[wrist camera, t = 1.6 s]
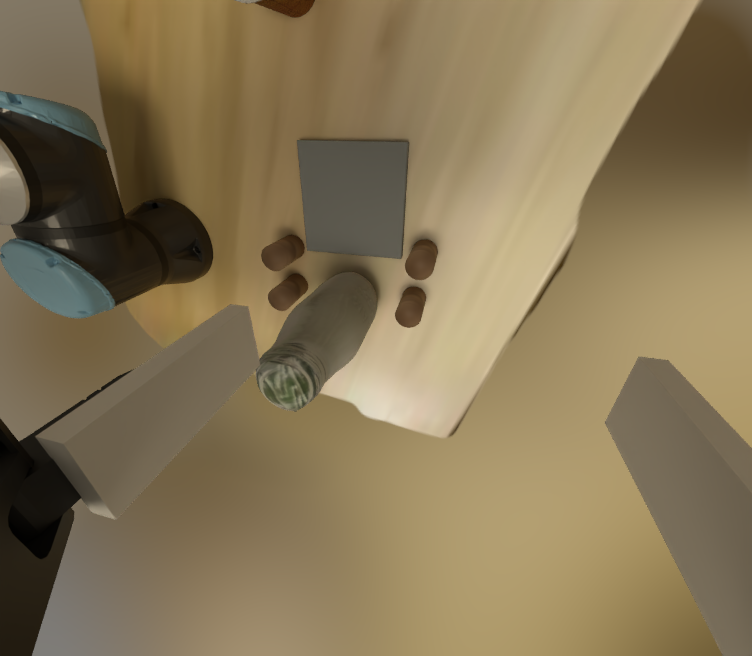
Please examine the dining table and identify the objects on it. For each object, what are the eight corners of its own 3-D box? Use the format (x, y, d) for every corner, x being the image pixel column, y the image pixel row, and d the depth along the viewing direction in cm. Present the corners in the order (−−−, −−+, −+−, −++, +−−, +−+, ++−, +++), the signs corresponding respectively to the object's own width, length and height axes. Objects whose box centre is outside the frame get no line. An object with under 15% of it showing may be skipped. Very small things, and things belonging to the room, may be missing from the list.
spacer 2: (283, 282, 59) (263, 297, 53) (297, 269, 57) (277, 284, 51) (298, 298, 60) (280, 314, 54) (312, 286, 58) (295, 302, 52)
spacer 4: (398, 294, 55) (390, 312, 49) (416, 282, 53) (410, 299, 47) (412, 312, 56) (406, 331, 50) (430, 300, 54) (426, 319, 48)
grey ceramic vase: (392, 306, 56) (340, 422, 33) (344, 322, 60) (266, 435, 37) (368, 254, 53) (290, 343, 29) (318, 275, 57) (214, 368, 33)
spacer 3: (407, 249, 51) (399, 263, 45) (427, 234, 49) (422, 246, 43) (422, 269, 52) (416, 285, 46) (442, 254, 50) (439, 269, 44)
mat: (310, 248, 55) (307, 250, 54) (300, 140, 47) (296, 140, 46) (402, 256, 52) (401, 258, 51) (409, 142, 44) (407, 142, 43)
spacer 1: (278, 244, 56) (256, 256, 50) (292, 230, 54) (271, 240, 48) (294, 262, 57) (274, 275, 51) (309, 248, 55) (290, 261, 49)
